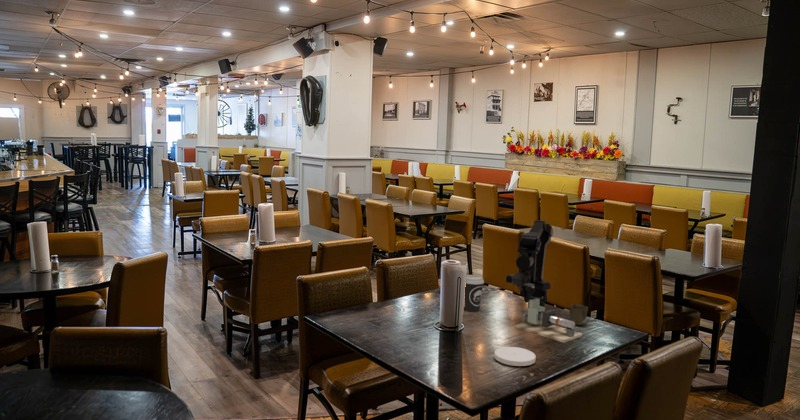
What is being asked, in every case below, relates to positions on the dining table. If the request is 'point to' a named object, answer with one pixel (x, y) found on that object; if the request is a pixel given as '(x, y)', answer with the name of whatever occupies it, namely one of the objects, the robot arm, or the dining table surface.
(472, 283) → the coffee cup
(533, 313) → the sleeve
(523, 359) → the plastic lid
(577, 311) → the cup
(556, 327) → the base board
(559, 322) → the steel pipe
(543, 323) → the rubber collar
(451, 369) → the dining table surface
